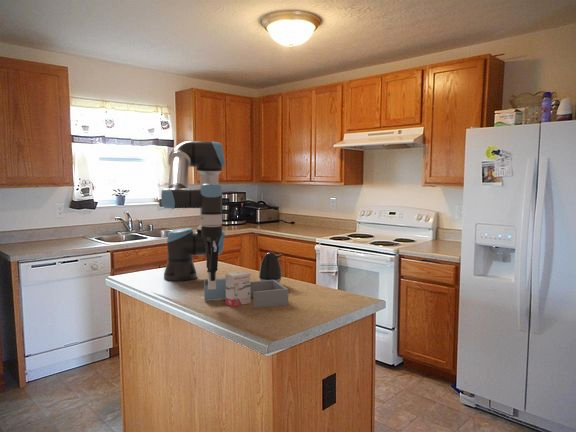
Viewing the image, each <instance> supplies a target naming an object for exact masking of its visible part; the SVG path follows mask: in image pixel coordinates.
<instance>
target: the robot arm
mask: <svg viewBox="0 0 576 432" xmlns="http://www.w3.org/2000/svg"><path fill="white" fill-rule="evenodd" d="M223 148H224V147H223V144H222V143H221V142H219V141H213V140H212V141H197V140H195V141H193V140H188V141H187V140H186V141H183V142H181V143H179V144H177V145H175V146H174V148H172V150H171V151H170V153H169V155H168V165H169V175H168V185H167V186H168V187H167V188H163V189H161V197H160V198H161V206H162V208H164V209H172V210H173V209H199V210H200V211H199V214H200V216H199V222H200V223H199V225H198V226H197V227H196V231H194V230H193V228H191V227H187V228H178V229H174V230H171V231H169V232H168V233H167V238H166V239H167V240H166V243H167V263H166V267H165V271H164V273H163V279H164V280H166V281H172V282H184V281H190V280H194V279H196V278H197V273H198V272H197V270H196V267H195V264H194V259H193V256H205V259H206V269H207V270H206V272H207V279H208V289H216V279H217V271H219V270H218V265H219V255H221V254H222V253H223V250H224V245H225V234H226V233H225V231H224V230H223V227H222V225H223V191H222V190H223V189H222V184H221V183H219V175H220V174H221V173H222V171H223V170H222V169H223V168H225V167H226V164H225V163H226V161H225V153H224V149H223ZM190 167H194V168H195V167H196V172H197V173H199V188H188V187H189V186H188V182H189V168H190Z"/></svg>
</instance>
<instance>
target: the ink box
mask: <svg viewBox="0 0 576 432" xmlns="http://www.w3.org/2000/svg"><path fill="white" fill-rule="evenodd" d="M251 274H252V273H249V272H248V271H246V270H245V271H244V270H240V271H234V272H227V273H226V274H225V278H226V299H225V304H226V305H227V306H229V307H233V308H234V307H236V306H237V307H238V306H241V305H245V304H251V297H250V282H251V278H252V277H251Z"/></svg>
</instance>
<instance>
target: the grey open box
mask: <svg viewBox="0 0 576 432" xmlns="http://www.w3.org/2000/svg"><path fill="white" fill-rule="evenodd" d="M251 297H253V301H252V303H253V308H254V309H260V308H268V307H277V306H278V307H280V306H286V305H287V306H288V305H289V288H287V287H286V286H284V285H283V284H282V283H280V282H279V283H278V282H277V281H275V280H264V281H260V280H254V281H250V298H251Z"/></svg>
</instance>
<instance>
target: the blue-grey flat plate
mask: <svg viewBox="0 0 576 432" xmlns="http://www.w3.org/2000/svg"><path fill="white" fill-rule="evenodd" d="M203 285H204V286H203V289H204V293H203V294H204V295H203V299H204V301H213V300H222V299H223V300H226V277H224V278H220V277H219V278H216V289H208V278H207V279H203Z"/></svg>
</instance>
